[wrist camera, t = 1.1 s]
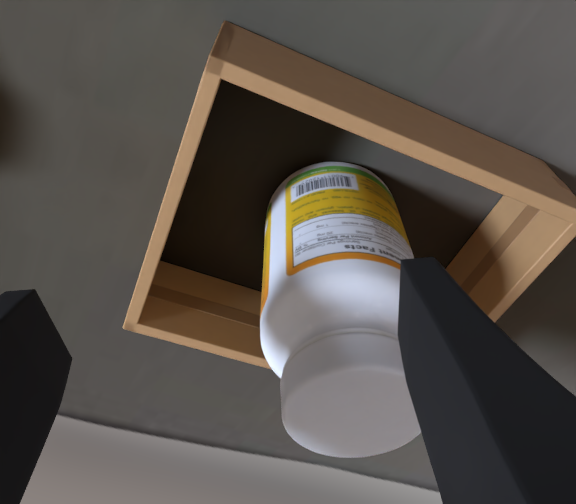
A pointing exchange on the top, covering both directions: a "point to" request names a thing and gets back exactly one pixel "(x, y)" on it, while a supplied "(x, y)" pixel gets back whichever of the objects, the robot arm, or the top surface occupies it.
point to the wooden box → (378, 128)
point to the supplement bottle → (336, 311)
